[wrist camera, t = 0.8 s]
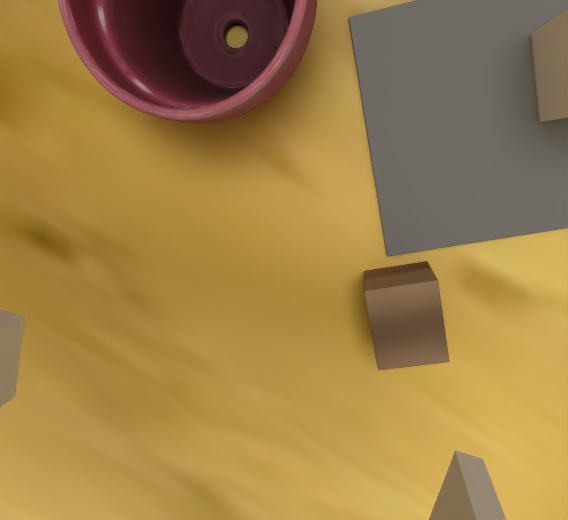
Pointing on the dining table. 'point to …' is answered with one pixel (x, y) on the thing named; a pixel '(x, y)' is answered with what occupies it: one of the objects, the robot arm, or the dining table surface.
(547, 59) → the cream rectangular block
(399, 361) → the brown block
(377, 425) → the dining table surface
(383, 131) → the mat
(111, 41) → the plant pot
